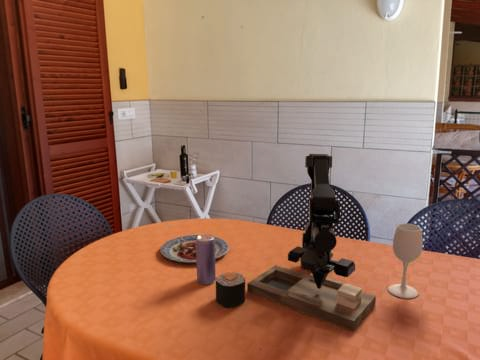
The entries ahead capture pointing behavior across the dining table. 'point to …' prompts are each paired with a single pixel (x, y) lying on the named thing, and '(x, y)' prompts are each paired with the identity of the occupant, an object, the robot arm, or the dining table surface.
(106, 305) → the dining table surface
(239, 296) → the sushi
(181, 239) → the ceramic plate
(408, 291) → the wineglass
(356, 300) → the block
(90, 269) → the dining table surface
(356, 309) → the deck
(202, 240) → the beverage can
